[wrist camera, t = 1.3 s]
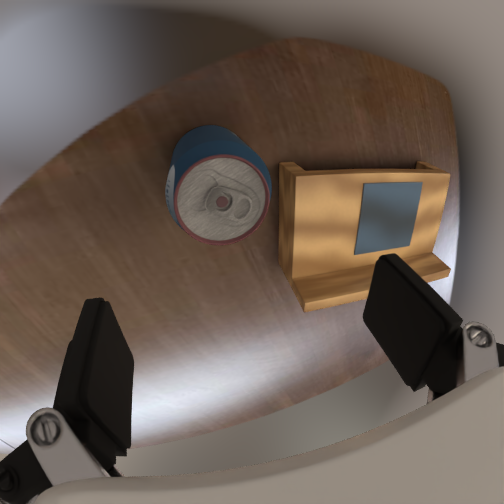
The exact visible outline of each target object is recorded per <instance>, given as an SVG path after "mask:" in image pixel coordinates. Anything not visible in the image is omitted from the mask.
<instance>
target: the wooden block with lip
mask: <svg viewBox="0 0 504 504" xmlns="http://www.w3.org/2000/svg"><path fill="white" fill-rule="evenodd" d="M449 179H450V174H449V173H447V172H445V171H443V170H441V169H439V168H437V167H435V166H433V165H431V164H429V163H426V162H422V161H417V164H416V169H339V170H314V171H305V170H304V169H302V168H301V167H299V166H298V165H297V164H295V163H294V162H280V163H279V254H278V262H279V264H280V266H281V268H282V270H283V272H284V274H285V276H286V278H287V280H288V282H289V284H290V286H291V288H292V290H293V292H294V293H295V295H296V297H297V299H298V301H299V303H300V305H301V307H302V309H303V311H304V312H308V311H313V310H318V309H323V308H327V307H332V306H337V305H341V304H346V303H350V302H354V301H359V300H363V299H367V297H368V293H369V289H370V285H371V281H372V276H373V272H374V267H375V263H376V261H377V260H378V259H379V257H380V256H381V255H385V254H391V253H395V254H397V255H398V256H399V257H400V258H401V259H402V260H404V261H405V262H406V263H407V264H408V265H409V266H410V267H411V268H412V269H413V270H414V271H415V272H416V273H417V274H418V275H419V276H420V277H421V278H422V279H424V280H425V281H426V282H427V283H428V282H431V281H435V280H438V279H442V278H445V277H448V276H449V273H450V270H451V269H450V268H449V267H448V266H447V265H446V264H445V263H444V262H443V261H441V260H440V259H439V258H438V257H437V256H436V255H435V254H433V253H432V251H433V248H434V244H435V241H436V237H437V233H438V229H439V226H440V222H441V217H442V213H443V209H444V204H445V200H446V195H447V190H448V185H449Z"/></svg>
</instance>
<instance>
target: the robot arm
mask: <svg viewBox="0 0 504 504" xmlns="http://www.w3.org/2000/svg"><path fill="white" fill-rule="evenodd" d="M363 320H364V322H365V324H366V326H367V327H368V329H369V330H370V331H371V333H372V334H373V336H374V337H375V339H376V340H377V342H378V343H379V345H380V346H381V348H382V349H383V350H384V352H385V353H386V355H387V356H388V358H389V359H390V361H391V362H392V364H393V365H394V367H395V368H396V370H397V372H398V373H399V375H400V376H401V378H402V379H403V381H404V382H405V384H406V385H408V386H410V387H411V388H412V390H413V391H414V392H415V391H417V390H419V389H421V388H423V387H425V385H426V384H427V386H428V387H429V392H428V400H427V404H426V405H424V406H422V407H421V408H418V409H416V410H415V411H413V412H410V413H408V414H406V415H404V416H402V417H400V418H398V419H396V420H393V421H391V422H389V423H387V424H384V425H382V426H380V427H377V428H375V429H372V430H370V431H368V432H365V433H362V434H360V435H357V436H355V437H352V438H349V439H347V440H344V441H341V442H338V443H335V444H332V445H329V446H326V447H323V448H319V449H316V450H313V451H310V452H306V453H302V454H299V455H295V456H291V457H287V458H283V459H279V460H275V461H270V462H266V463H261V464H256V465H251V466H246V467H240V468H234V469H227V470H220V471H213V472H204V473H194V474H183V475H171V476H149V477H148V476H146V477H125V476H124V475H123V474H122V473H121V472H120V471H119V469H118V468H117V467H116V466H115V464H116V456H127V452H126V451H127V448H130V447H131V412H132V388H133V372H134V359H133V355H132V353H131V351H130V349H129V347H128V344H127V342H126V340H125V338H124V336H123V333H122V331H121V329H120V327H119V324H118V322H117V320H116V317H115V315H114V312H113V310H112V307H111V305H110V303H109V302H108V301H106V302H105V301H104V299H103V298H93V299H87V300H85V302H84V305H83V308H82V311H81V314H80V317H79V320H78V323H77V327H76V330H75V333H74V336H73V340H71V341H70V343H69V345H68V348H67V352H66V355H65V359H64V363H63V366H62V370H61V374H60V378H59V382H58V387H57V391H56V396H55V400H54V405H53V408H41V409H39V410H37V411H36V412H35V413H33V414H32V415H31V417H30V418H29V420H28V422H27V426H26V436H27V440H26V441H25V442H23V443H22V444H21V445H20V446H19V447H17V448H16V449H15V450H14V451H13V452H11V453H10V454H9V455H8V456H6V457H5V458H4V459H3V460H2V461H1V462H0V504H504V345H503V344H499V343H496V341H495V337H494V334H493V333H492V331H491V330H490V329H489V328H488V327H487V326H485V325H484V324H482V323H479V322H469V323H467V324H465V326H464V328H463V329H462V328H461V327H460V325H461V323H462V321H463V320H462V318H461V317H460V316H459V315H458V314H457V313H456V312H455V311H454V310H453V309H452V308H451V307H450V306H449V305H448V304H447V303H446V302H445V301H444V299H443V298H442V297H441V296H440V295H439V294H438V293H437V292H436V291H435V290H434V289H433V288H432V287H431V286H430V285H429V284H428V283H427V282H426V281H425V280H424V279H422V278H421V277H420V276H419V275H418V274H417V273H416V272H415V271H414V270H413V269H412V268H411V267H410V266H409V265H408V264H407V263H406V262H405V261H404V260H402V259H401V258H400V257H399V256H398V255H397V254H395V253H391V254H385V255H381V256H380V257H379V259H378V260H377V261H376V263H375V267H374V272H373V276H372V281H371V285H370V289H369V293H368V297H367V301H366V305H365V309H364V313H363Z"/></svg>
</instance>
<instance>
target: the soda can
mask: <svg viewBox="0 0 504 504" xmlns="http://www.w3.org/2000/svg"><path fill="white" fill-rule="evenodd" d="M271 193H272V184H271V178H270V174H269V171H268V169H267V167H266V165H265V163H264V162H263V160H262V159H261V158H260V157H259V156H258V155H257V154H256V153H255V152H254V151H253V150H252V149H251V148H250V147H249V146H248V145H247V144H245V143H244V142H243V141H242V140H241V139H240V138H239V137H238V136H237V135H235V134H234V133H233V132H232V131H230V130H228V129H226V128H224V127H221V126H216V125H206V126H200V127H197V128H195V129H193V130H191V131H189V132H188V133H186V134H185V135H184V136H183V137H182V138H181V139H180V140H179V142H178V143H177V145H176V147H175V149H174V152H173V155H172V159H171V164H170V169H169V173H168V178H167V183H166V191H165V195H166V203H167V206H168V209H169V212H170V214H171V216H172V218H173V219H174V220H175V222H176V223H177V224H178V225H179V226H180V227H181V228H182V229H183V230H184V231H185V232H186V233H187V234H189V235H190V236H191V237H192V238H194V239H196V240H198V241H200V242H203V243H206V244H211V245H228V244H232V243H236V242H238V241H241V240H243V239H245V238H246V237H248V236H249V235H251V234H252V233H253V232H254V231H255V230H256V229H257V228H258V227H259V226H260V225H261V223H262V222H263V220H264V218H265V216H266V214H267V211H268V208H269V203H270V199H271Z"/></svg>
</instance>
